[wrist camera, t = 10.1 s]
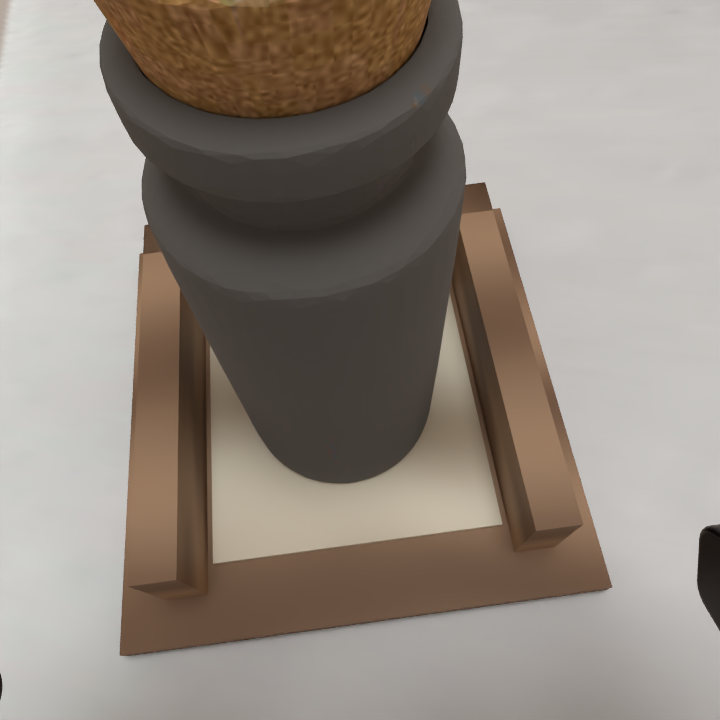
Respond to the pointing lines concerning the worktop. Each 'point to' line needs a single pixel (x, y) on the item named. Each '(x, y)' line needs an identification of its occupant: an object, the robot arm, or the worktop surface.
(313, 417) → the bottle
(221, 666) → the worktop surface
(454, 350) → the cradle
